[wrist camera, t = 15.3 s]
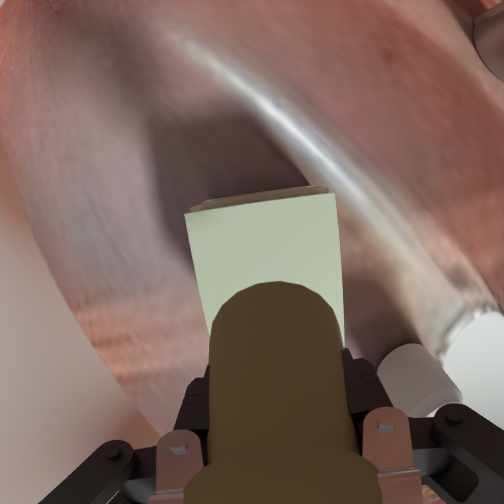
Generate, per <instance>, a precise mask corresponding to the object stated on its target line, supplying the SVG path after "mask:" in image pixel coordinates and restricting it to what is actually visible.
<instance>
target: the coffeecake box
mask: <svg viewBox="0 0 504 504" xmlns="http://www.w3.org/2000/svg"><path fill="white" fill-rule="evenodd" d="M422 497H423V504H447V503H446V502H444V501H443V500H442V499H441V498H440V497H439V496H438V495H437V494H436V493H435V492H434V491H433V490H431V489H430V488H429V487H428V486H427V485H422Z"/></svg>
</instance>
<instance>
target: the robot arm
mask: <svg viewBox="0 0 504 504" xmlns="http://www.w3.org/2000/svg"><path fill="white" fill-rule="evenodd" d="M473 22H474V25H475V26H474V30H473V38H474V43H475V46H476V49H477V51H478V53H479V55H480V57H481V59H482V60H483V62H484V63H485V65H486V66H487V68H488V69H489V70H490V71H491V72H492V73H493V74H494V75H495V76H496V77H497V78H499V79H500V80H502V81H504V1H502V2H500V3H499V4H497V5H495V6H494V7H492V8H490V9H489V10H487V11H485V12H484V13H482V14H481V15H479V16H477V17H476V18H474V19H473ZM341 354H342V362H343V371H344V380H345V390H346V400H347V403H348V407H349V411H350V415H351V418H352V420H353V423H354V425H355V427H356V431H357V436H358V443H359V451H360V456H361V457H363V458H365V459H366V460H368V461H369V462H371V463H372V464H374V465H375V466H376V468H377V469H378V470H379V472H378V473H377V479H378V483H379V486H380V489H381V492H382V495H383V502H382V504H423V497H422V483H421V480H422V481H423V482H424V483H425V484H426V485H427V486H428V487H429V488H430V489H431V490H433V491H434V492H435V493H436V494H437V495H438V496H439V497H440V498H441V499H442V500H443V501H444V502H446V503H447V504H504V430H502V429H501V428H499V427H497V426H496V425H494V424H493V423H492V422H490V421H489V420H487V419H486V418H484V417H483V416H481V415H480V414H478V413H477V412H475V411H474V410H472V409H471V408H469V407H467V406H466V405H463V404H460V403H450V404H446V405H444V406H442V407H440V408H439V409H438V410H437V411H436V413H435V415H434V417H422V418H413V417H407V415H406V414H405V413H404V412H403V411H402V410H400V409H398V408H394V406H393V404H392V402H391V400H390V398H389V396H388V394H387V393H386V391H385V389H384V387H383V385H382V383H381V381H380V379H379V377H378V375H377V374H376V371H375V369H374V367H373V366H372V364H371V363H369V362H368V361H367V360H365V359H364V358H359V359H354V360H353V358H352V355H351V353H350V351H349V349H348V348H343V349H341ZM209 381H210V365H207V368H206V371H205V375H204V377H203V378H195V379H194V380H193V381H192V382H191V383H190V384H189V385H188V387H187V390H186V393H185V397H184V399H183V402H182V405H181V408H180V411H179V414H178V417H177V420H176V423H175V426H174V429H173V431H171V432H169V433H167V434H165V435H164V436H162V437H161V438H160V440H159V441H158V443H157V445H156V446H153V447H149V448H142V449H136V450H133V448H132V446H131V445H130V444H129V443H127V442H125V441H122V440H112V441H109V442H106V443H104V444H102V445H101V446H100V447H99V448H98V449H97V450H95V452H93V453H92V454H91V455H90V456H89V457H88V458H87V459H86V460H85V461H84V462H83V463H82V464H81V465H80V466H79V467H77V469H76V470H74V471H73V472H72V473H71V474H70V475H69V476H68V477H67V478H66V479H65V480H63V481H62V482H61V483H60V484H59V485H58V486H57V487H56V488H55V489H54V490H53V491H52V492H50V494H48V495H47V496H46V497H45V498H44V499H43V500H42V501H40V502H39V503H38V504H106V503H107V502H108V501H109V500H110V499H111V498H112V497H113V496H114V495H115V494H116V493H117V492H118V491H119V492H118V493H117V494H116V496H114V498H113V499H112V500H111V501H110V502H109V503H108V504H183V500H184V492H185V491H183V490H184V488H185V487H186V485H187V483H188V482H189V481H190V480H191V479H192V478H193V477H194V476H195V475H196V474H197V473H198V472H199V471H200V470H201V469H203V468H204V467H206V461H207V435H208V431H209V429H210V418H209Z"/></svg>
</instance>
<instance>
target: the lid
mask: <svg viewBox="0 0 504 504" xmlns="http://www.w3.org/2000/svg"><path fill="white" fill-rule="evenodd" d="M184 215H185V221H186V226H187V232H188V237H189V242H190V248H191V253H192V258H193V263H194V268H195V273H196V278H197V282H198V287H199V292H200V297H201V301H202V306H203V310H204V315H205V319H206V323H207V328H208V332H209V336H210V334H211V328H212V322H213V320H214V318H215V316H216V315H217V313H218V311H219V309H220V308H221V306H222V305H223V304H224V303H225V302H226V301H227V300H229V299H230V298H231V297H232V296H233V295H234V294H235V293H237V292H238V291H241V290H243V289H245V288H248V287H250V286H252V285H255V284H257V283H265V282H273V281H284V282H289V283H295V284H300V285H303V286H305V287H307V288H309V289H310V290H312V291H314V292H316V293H318V294H320V295H321V296H322V297H323V299H324V300H325V301H326V302H327V303H328V304H329V305H330V306H331V307H332V308H333V310H334V313H335V315H336V318H337V321H338V323H339V326H340V331H341V336H342V341H343V346H344V310H343V287H342V270H341V256H340V243H339V231H338V221H337V211H336V202H335V193H333V192H330V193H321V194H313V195H304V196H296V197H289V198H281V199H274V200H266V201H259V202H252V203H245V204H239V205H232V206H225V207H219V208H213V209H207V210H200V211H194V212H188V213H185V214H184Z"/></svg>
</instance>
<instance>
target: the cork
mask: <svg viewBox="0 0 504 504" xmlns="http://www.w3.org/2000/svg"><path fill="white" fill-rule="evenodd" d="M343 348H344V347H343V341H342V336H341V331H340V326H339V323H338V321H337V318H336V315H335V313H334V310H333V308H332V307H331V306H330V305H329V304H328V303H327V302H326V301H325V300H324V299H323V297H322V296H321V295H320V294H318V293H316V292H314V291H312V290H310V289H309V288H307V287H305V286H303V285H300V284H295V283H289V282H284V281H273V282H265V283H257V284H255V285H252V286H250V287H248V288H245V289H243V290H241V291H238V292H237V293H235V294H234V295H233V296H232V297H231V298H230V299H229V300H227V301H226V302H225V303H224V304H223V305H222V306H221V308H220V309H219V311H218V313H217V315H216V316H215V318H214V320H213V322H212V328H211V334H210V344H209V364H208V365H210V381H209V418H210V429H209V431H208V435H207V461H206V467H204V468H203V469H201V470H200V471H199V472H198V473H197V474H196V475H195V476H194V477H193V478H192V479H191V480H190V481H189V482H188V483H187V485H186V487H185V488H184V490H183V491H185V492H184V500H183V504H382V502H383V495H382V492H381V489H380V486H379V483H378V479H377V473H378V472H379V470H378V469H377V468H376V466H375V465H374V464H372V463H371V462H369V461H368V460H366V459H365V458H363V457H361V456H360V451H359V443H358V436H357V431H356V427H355V425H354V423H353V420H352V418H351V415H350V411H349V407H348V403H347V400H346V390H345V380H344V371H343V362H342V354H341V349H343Z"/></svg>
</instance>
